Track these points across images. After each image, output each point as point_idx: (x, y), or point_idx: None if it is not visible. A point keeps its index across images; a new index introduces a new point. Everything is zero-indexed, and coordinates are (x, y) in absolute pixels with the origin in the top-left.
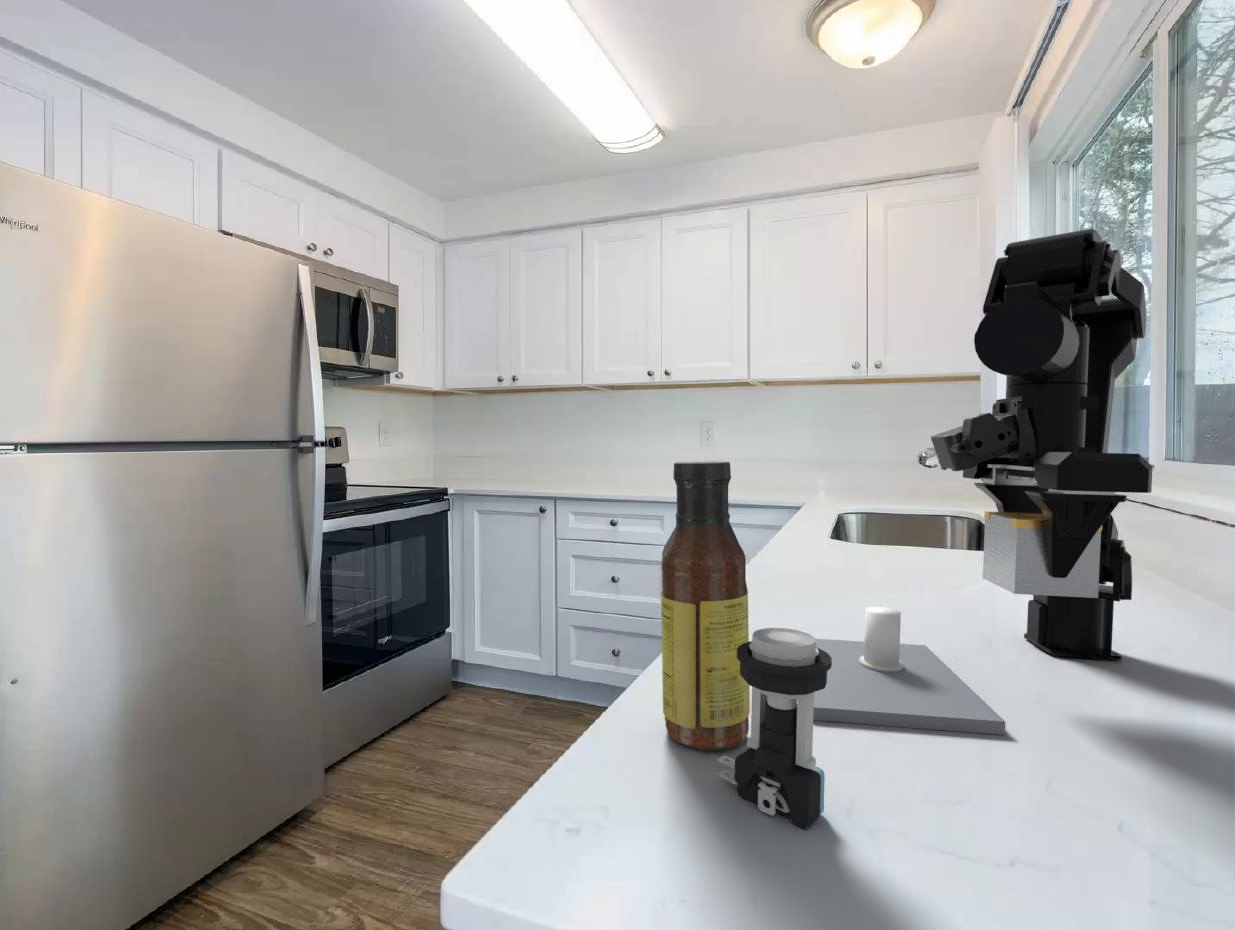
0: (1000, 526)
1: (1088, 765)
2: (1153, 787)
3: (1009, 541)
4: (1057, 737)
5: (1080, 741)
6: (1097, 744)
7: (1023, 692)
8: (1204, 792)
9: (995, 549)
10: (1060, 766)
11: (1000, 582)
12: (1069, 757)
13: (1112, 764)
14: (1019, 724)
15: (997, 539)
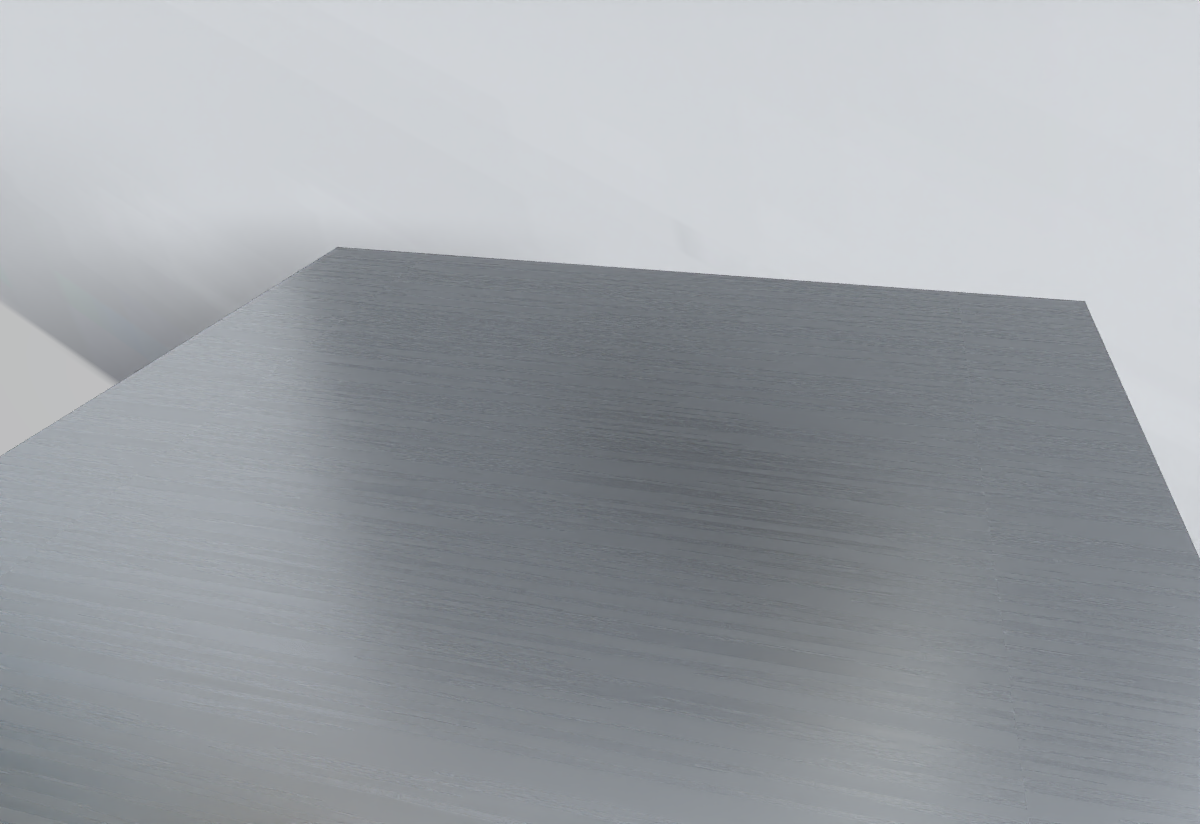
0: (378, 718)
1: (146, 112)
2: (82, 227)
3: (159, 511)
4: (332, 125)
5: (325, 194)
6: (319, 241)
7: (800, 238)
8: (112, 345)
9: (700, 466)
10: (99, 6)
11: (610, 285)
12: (180, 78)
13: (183, 198)
14: (412, 27)
15: (585, 552)
